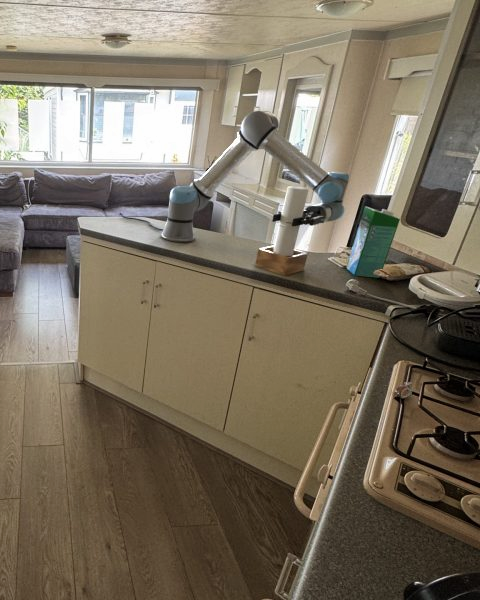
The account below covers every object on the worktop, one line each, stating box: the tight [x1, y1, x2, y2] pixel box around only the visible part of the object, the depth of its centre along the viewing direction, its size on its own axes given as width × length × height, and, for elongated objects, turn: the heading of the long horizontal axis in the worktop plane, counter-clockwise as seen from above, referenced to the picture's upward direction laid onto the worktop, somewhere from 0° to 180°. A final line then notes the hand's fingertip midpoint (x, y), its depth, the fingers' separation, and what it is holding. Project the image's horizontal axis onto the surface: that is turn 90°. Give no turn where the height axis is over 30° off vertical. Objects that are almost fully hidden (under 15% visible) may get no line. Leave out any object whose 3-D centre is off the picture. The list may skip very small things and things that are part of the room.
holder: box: [254, 244, 309, 277], centre depth 168 cm, size 13×13×7 cm
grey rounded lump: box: [394, 381, 413, 399], centre depth 93 cm, size 3×2×4 cm
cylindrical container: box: [273, 185, 310, 256], centre depth 162 cm, size 7×7×25 cm
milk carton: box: [345, 206, 401, 279], centre depth 163 cm, size 9×9×25 cm
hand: (283, 220), depth 159 cm, fingers closed on cylindrical container, 7 cm apart
